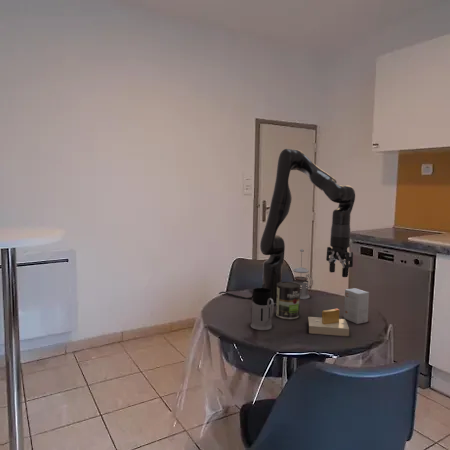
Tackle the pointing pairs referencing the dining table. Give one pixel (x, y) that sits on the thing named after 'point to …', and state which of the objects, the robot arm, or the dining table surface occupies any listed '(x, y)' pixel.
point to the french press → (302, 280)
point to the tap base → (328, 327)
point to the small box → (356, 305)
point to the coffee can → (288, 300)
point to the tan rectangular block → (330, 316)
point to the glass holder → (262, 309)
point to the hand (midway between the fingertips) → (338, 274)
